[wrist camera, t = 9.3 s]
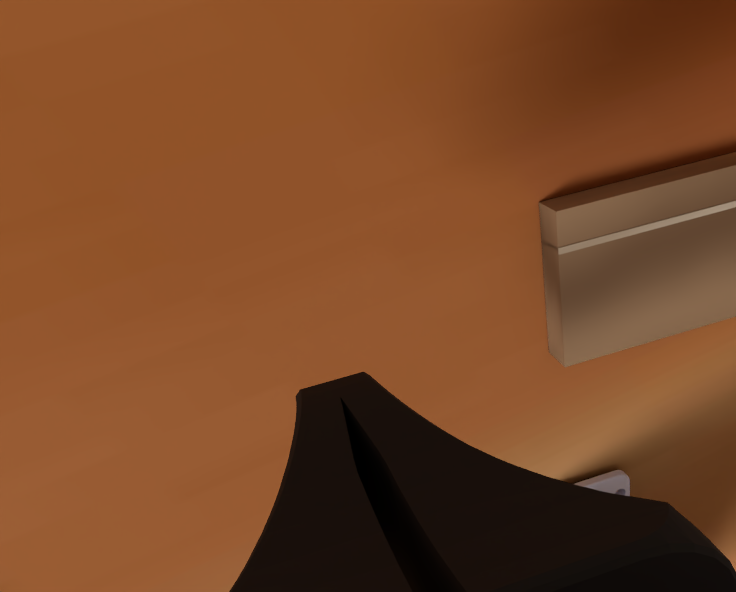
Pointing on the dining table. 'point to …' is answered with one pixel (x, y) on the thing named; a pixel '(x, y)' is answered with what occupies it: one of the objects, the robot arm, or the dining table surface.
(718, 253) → the board
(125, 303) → the dining table surface
